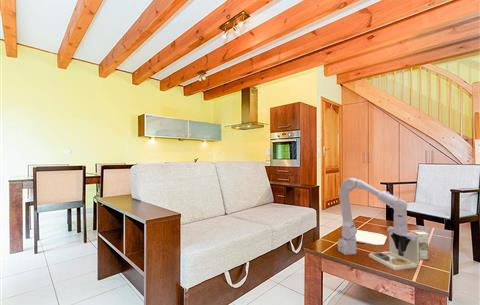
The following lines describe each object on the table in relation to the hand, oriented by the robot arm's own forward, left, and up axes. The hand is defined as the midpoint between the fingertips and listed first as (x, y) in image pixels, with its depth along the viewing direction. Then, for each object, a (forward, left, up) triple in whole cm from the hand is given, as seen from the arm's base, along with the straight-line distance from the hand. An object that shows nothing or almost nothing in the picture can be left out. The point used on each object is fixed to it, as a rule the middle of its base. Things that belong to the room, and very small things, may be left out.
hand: (400, 250), depth 117 cm
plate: (+12, +38, -9) cm, 41 cm away
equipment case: (-2, +4, -8) cm, 9 cm away
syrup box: (+19, +6, -9) cm, 22 cm away
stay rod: (0, 0, -3) cm, 3 cm away
